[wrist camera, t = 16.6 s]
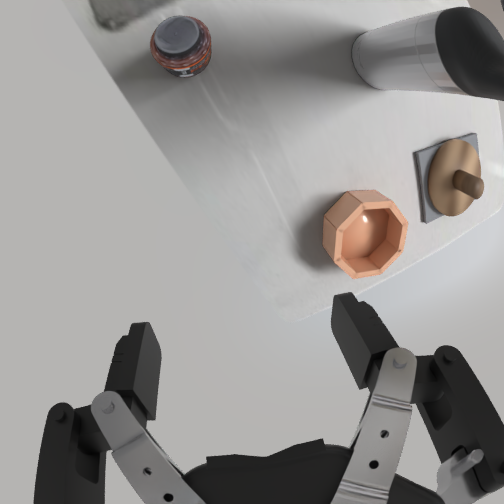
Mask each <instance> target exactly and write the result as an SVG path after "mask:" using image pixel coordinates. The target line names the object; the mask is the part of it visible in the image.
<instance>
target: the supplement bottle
mask: <svg viewBox="0 0 504 504" xmlns="http://www.w3.org/2000/svg"><path fill="white" fill-rule="evenodd" d="M150 49H151V53H152V55H153V57H154V58H155V60H156V61H157V62H158V63H159V64H160V65H162V66H163V67H164V68H165V69H166V70H167V71H169V72H170V73H171V74H173V75H175V76H179V77H190V76H194V75H196V74H198V73H200V72H201V71H202V70H204V69H205V68H206V66H207V65H208V63H209V61H210V58H211V36H210V33H209V30H208V28H207V27H206V25H205V24H204V23H203V22H201V21H200V20H198V19H196V18H193V17H190V16H173V17H170V18H168V19H166V20H164V21H163V22H162V23H161V24H160V25H159V26H158V27H157V28H156V30H155V31H154V33H153V35H152V37H151V41H150Z"/></svg>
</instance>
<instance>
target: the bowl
mask: <svg viewBox="0 0 504 504" xmlns="http://www.w3.org/2000/svg"><path fill="white" fill-rule="evenodd" d="M407 227H408V221H407V220H406V219H405V217H404V216H403V214H402V213H401V212H400V210H399V209H398V208H397V206H396V205H395V203H394V202H393V201H392V200H390V199H388V198H387V197H385V196H384V195H382V194H381V193H379V192H378V191H376V190H362V191H347V192H346V193H345V194H344V195H343V196H342V197H341V198H340V199H339V200H338V201H337V202H336V203H335V204H334V205H333V206H332V207H331V208H330V209H329V210H328V211H327V213H326V214H325V216H324V221H323V241H322V245H323V247H324V248H325V250H326V251H327V253H328V254H329V256H330V257H331V258H332V260H333V261H334V263H336V264H337V265H338V266H339V267H340V268H341V269H342V270H344V271H345V272H346V273H347V274H348V275H349V276H350V277H351V278H353V279H357V278H363V277H369V276H374V275H380V274H382V273H383V272H384V271H385V270H386V269H387V268H388V267H389V266H390V265H391V264H392V263H393V262H394V261H395V260H396V259H397V258H398V257H399V256H400V254H401V253H402V252H403V249H404V244H405V238H406V233H407Z"/></svg>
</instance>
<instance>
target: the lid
mask: <svg viewBox="0 0 504 504" xmlns="http://www.w3.org/2000/svg"><path fill="white" fill-rule="evenodd" d="M483 190H484V182H483V180H482V179H481V165H480V160H479V157H478V154H477V152H476V150H475V149H474V147H473V146H472V145H471V144H470V143H468V142H466V141H463V140H460V139H451V140H448V141H446V142H445V143H444V144H442V145H441V146H440V147H439V149H438V150H437V151H436V153H435V155H434V157H433V159H432V161H431V164H430V168H429V172H428V193H429V197H430V200H431V202H432V204H433V206H434V207H435V208H436V209H437V210H438V211H439V212H441V213H442V214H444V215H446V216H456V215H459V214H461V213H463V212H464V211H465V210H466V209H467V208H468V207H469V206H470V205H471V203H472V202H473V200H474V199H478V198H480V197H481V195H482V193H483Z"/></svg>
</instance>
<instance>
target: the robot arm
mask: <svg viewBox="0 0 504 504" xmlns="http://www.w3.org/2000/svg"><path fill="white" fill-rule="evenodd" d="M501 3H502V7H503V11H504V0H501ZM352 59H353V63H354V66H355V68H356V70H357V72H358V74H359V75H360V76H361V77H362V79H363V80H364V81H365V82H367V83H368V84H369V85H371V86H372V87H374V88H377V89H381V90H408V91H428V92H441V93H451V94H461V95H469V96H475V97H482V98H490V99H495V100H501V101H504V40H503V38H502V36H501V35H500V33H499V32H498V30H497V29H496V27H495V26H494V25H493V24H492V23H491V22H490V20H489V19H488V18H486V17H485V16H484V15H483V14H481V13H480V12H478V11H477V10H474V9H472V8H468V7H456V8H450V9H446V10H441V11H437V12H432V13H428V14H425V15H421V16H417V17H413V18H409V19H406V20H402V21H399V22H396V23H392V24H389V25H386V26H383V27H380V28H377V29H374V30H371V31H369V32H366V33H364V34H362V35H360V36H359V37H358V38H357V39H356V41H355V42H354V44H353V48H352ZM331 328H332V332H333V335H334V337H335V339H336V341H337V343H338V344H339V347H340V349H341V351H342V353H343V355H344V358H345V360H346V362H347V364H348V366H349V368H350V370H351V373H352V375H353V377H354V379H355V381H356V383H357V385H358V388H359V389H363V388H367V387H368V389H369V391H370V394H369V396H368V400H367V402H366V405H365V408H364V411H363V414H362V417H361V419H360V422H359V425H358V427H357V430H356V432H355V435H354V437H353V439H352V441H351V444H350V446H349V448H347V447H344V446H339V445H331V444H326V445H325V444H324V441H323V439H318V440H314V441H310V442H306V443H301V444H297V445H293V446H291V447H289V448H287V449H285V450H282V451H280V452H277V453H275V454H273V455H270V456H267V457H257V456H247V455H237V454H233V455H222V456H210V457H206V460H207V463H205V464H202V465H200V466H197V467H195V468H194V469H192V470H190V471H189V472H187V473H186V474H185V473H184V472H182V470H181V469H180V468H179V467H178V466H177V465H176V464H175V463H174V462H173V461H172V460H171V458H170V457H169V456H168V455H167V454H166V453H165V451H164V450H163V449H162V448H161V446H160V445H159V444H158V443H157V441H156V440H155V439H154V438H153V436H152V435H151V434H150V433H149V431H148V430H147V429H146V424H147V420H155V419H156V406H157V395H158V385H159V375H160V367H161V349H160V346H159V343H158V341H157V339H156V336H155V334H154V332H153V329H152V327H151V325H150V323H149V322H142V323H132V324H131V327H130V330H129V334H128V335H127V336H122V338H121V339H120V340H119V341H118V343H117V344H116V347H115V351H114V356H113V358H112V363H111V366H110V369H109V373H108V377H107V382H106V385H105V389H104V392H102V393H100V394H99V395H97V396H96V397H95V398H94V400H93V402H92V404H91V405H88V406H85V407H81V408H76V409H73V408H72V407H71V406H70V405H69V404H68V403H58V404H56V405H54V406H53V407H52V408H51V409H50V410H49V412H48V416H47V420H46V424H45V428H44V433H43V438H42V443H41V448H40V454H39V460H38V467H37V474H36V482H35V492H34V504H105V466H106V451H108V450H113V452H112V456H113V458H114V460H115V462H116V463H117V465H118V466H119V468H120V470H121V471H122V473H123V474H124V476H125V477H126V478H127V480H128V481H129V483H130V484H131V486H132V487H133V488H134V490H135V491H136V493H137V494H138V495H139V497H140V498H141V499H142V500H143V502H144V503H145V504H472V503H474V502H475V501H477V500H479V499H481V498H483V497H485V496H487V495H489V494H491V493H493V492H495V491H497V490H498V489H500V488H502V487H503V486H504V424H503V422H502V421H501V419H500V417H499V415H498V413H497V411H496V410H495V408H494V406H493V404H492V402H491V401H490V399H489V397H488V395H487V394H486V392H485V390H484V389H483V387H482V385H481V384H480V382H479V380H478V379H477V377H476V375H475V374H474V372H473V371H472V369H471V368H470V366H469V364H468V363H467V361H466V360H465V358H464V357H463V355H462V354H461V353H460V351H459V350H458V349H456V348H455V347H452V346H448V345H444V346H441V347H439V348H438V349H437V350H436V351H435V353H434V355H427V356H415V355H414V354H413V353H412V352H411V351H409V350H407V349H405V348H400V347H399V346H398V345H397V343H396V341H395V340H394V338H393V337H392V335H391V334H390V332H389V331H388V329H387V328H386V326H385V325H384V324H383V323H382V321H381V319H380V317H378V314H377V313H376V312H375V310H374V309H373V307H372V306H370V305H369V304H367V303H366V302H364V301H362V302H358V301H357V299H356V298H355V296H354V295H353V293H352V292H348V293H343V294H338V295H335V296H334V298H333V307H332V317H331ZM414 403H416V405H417V408H418V410H419V412H420V414H421V416H422V418H423V421H424V423H425V425H426V427H427V430H428V432H429V434H430V437H431V439H432V441H433V444H434V446H435V449H436V451H437V454H438V456H439V458H440V461H441V464H442V465H441V466H440V467H439V469H438V472H437V483H438V488H437V491H436V492H434V491H432V490H430V489H427V488H425V487H423V486H421V485H418V484H416V483H414V482H412V481H410V480H408V479H406V478H404V477H402V476H400V475H398V474H396V473H395V472H396V469H397V466H398V463H399V460H400V457H401V453H402V450H403V446H404V442H405V439H406V435H407V431H408V427H409V423H410V419H411V414H412V406H410V404H414Z"/></svg>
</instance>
